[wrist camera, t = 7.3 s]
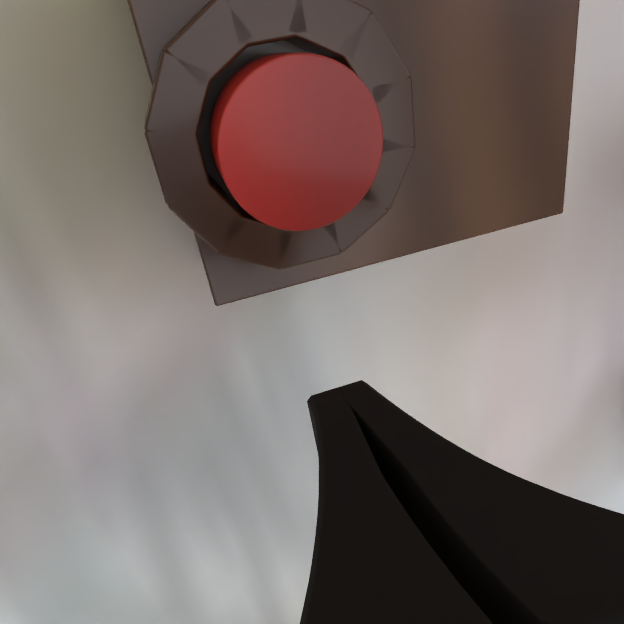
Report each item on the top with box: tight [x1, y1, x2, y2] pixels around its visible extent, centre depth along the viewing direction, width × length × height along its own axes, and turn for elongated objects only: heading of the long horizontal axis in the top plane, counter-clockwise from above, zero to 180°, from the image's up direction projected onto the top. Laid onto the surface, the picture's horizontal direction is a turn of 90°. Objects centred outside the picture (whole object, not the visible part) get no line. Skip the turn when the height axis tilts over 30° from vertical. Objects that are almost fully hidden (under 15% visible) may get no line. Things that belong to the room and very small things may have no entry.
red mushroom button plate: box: [128, 0, 580, 306], centre depth 16 cm, size 13×10×6 cm
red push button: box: [210, 53, 383, 231], centre depth 13 cm, size 4×4×2 cm
